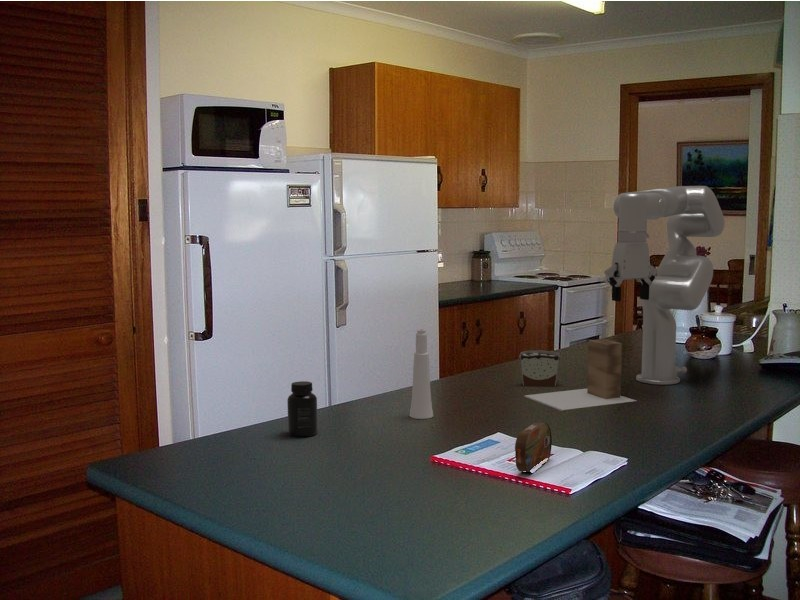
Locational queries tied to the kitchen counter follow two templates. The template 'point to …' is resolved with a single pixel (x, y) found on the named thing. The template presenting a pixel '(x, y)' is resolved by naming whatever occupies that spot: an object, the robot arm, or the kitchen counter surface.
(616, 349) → the walnut block
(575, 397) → the grey mat
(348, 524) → the kitchen counter surface
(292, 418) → the supplement bottle
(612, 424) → the kitchen counter surface
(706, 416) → the kitchen counter surface
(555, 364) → the food container
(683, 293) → the robot arm
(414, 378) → the cosmetic bottle
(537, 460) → the tin
